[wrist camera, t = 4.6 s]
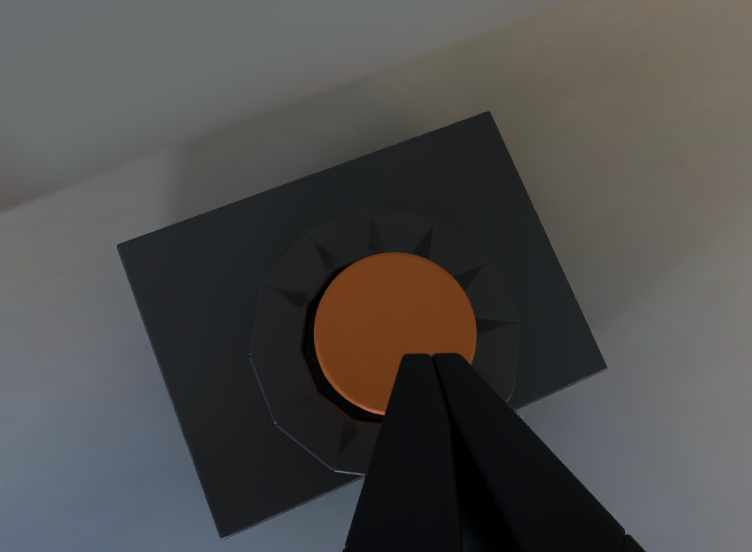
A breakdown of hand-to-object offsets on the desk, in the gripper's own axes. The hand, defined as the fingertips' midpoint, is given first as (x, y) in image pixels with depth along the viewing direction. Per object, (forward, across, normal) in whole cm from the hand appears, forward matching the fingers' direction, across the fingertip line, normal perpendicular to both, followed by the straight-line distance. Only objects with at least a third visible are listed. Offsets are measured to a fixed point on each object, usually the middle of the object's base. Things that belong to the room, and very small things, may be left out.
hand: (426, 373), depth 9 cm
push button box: (+9, 0, +7) cm, 11 cm away
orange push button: (+5, 0, +3) cm, 6 cm away
